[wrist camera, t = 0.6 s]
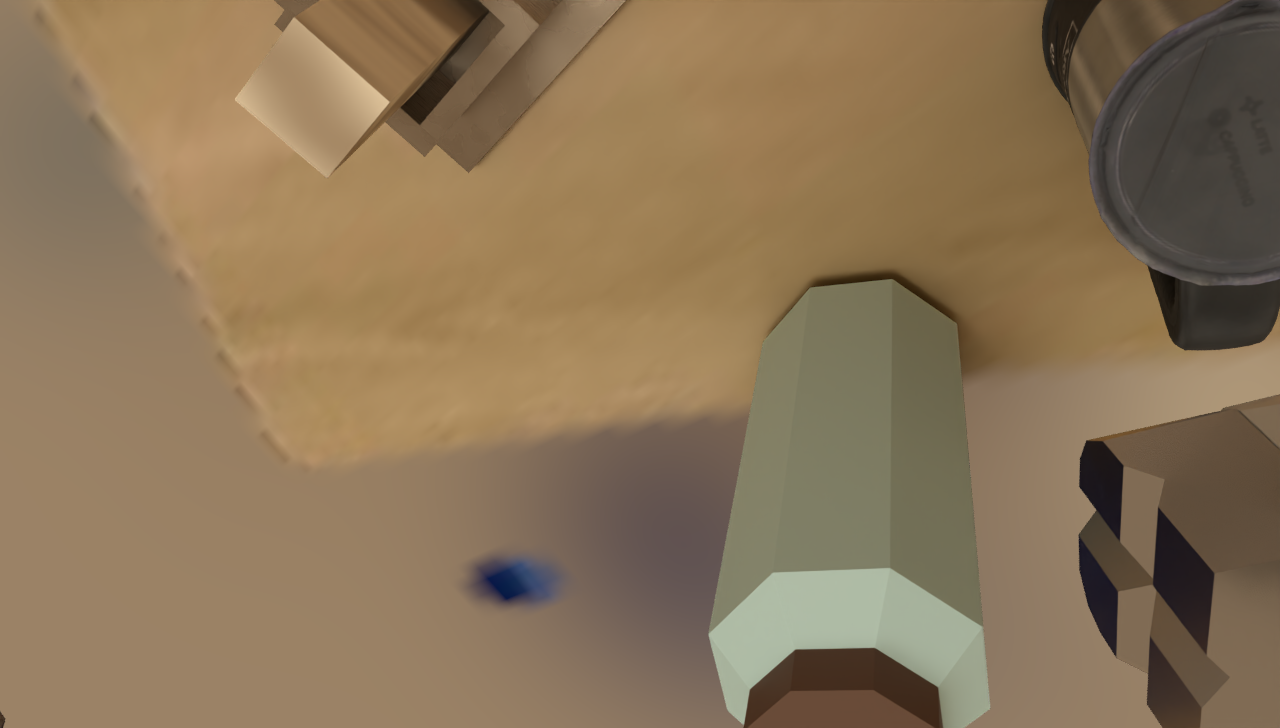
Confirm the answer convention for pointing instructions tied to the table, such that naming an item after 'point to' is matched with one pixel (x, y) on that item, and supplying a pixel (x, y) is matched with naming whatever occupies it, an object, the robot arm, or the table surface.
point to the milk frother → (1183, 149)
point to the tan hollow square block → (491, 72)
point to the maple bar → (352, 70)
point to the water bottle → (854, 525)
